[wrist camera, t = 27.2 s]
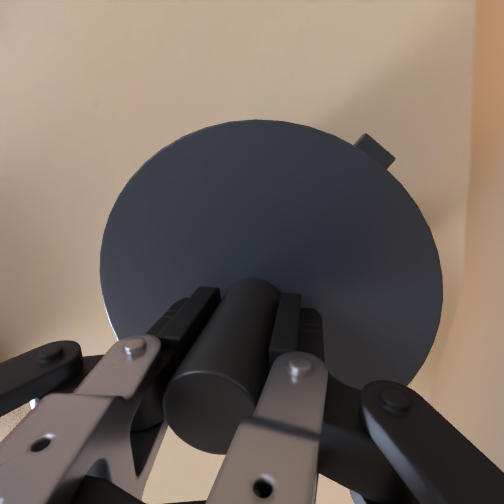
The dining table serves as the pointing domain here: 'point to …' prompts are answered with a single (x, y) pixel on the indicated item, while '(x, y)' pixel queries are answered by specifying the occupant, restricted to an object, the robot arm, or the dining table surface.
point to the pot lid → (270, 263)
